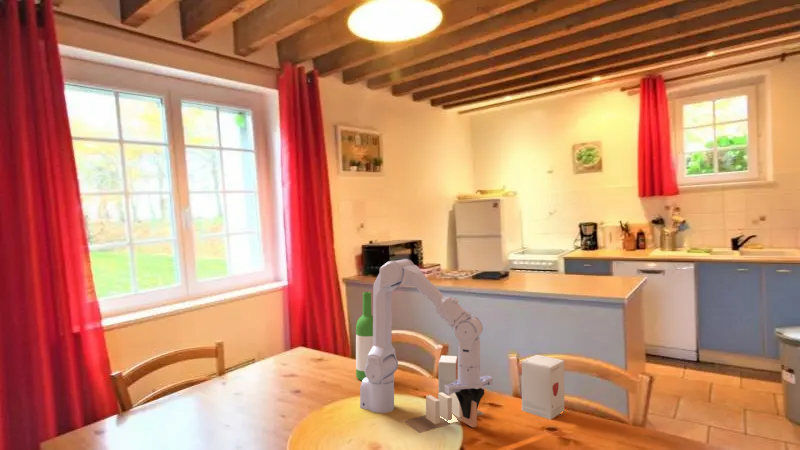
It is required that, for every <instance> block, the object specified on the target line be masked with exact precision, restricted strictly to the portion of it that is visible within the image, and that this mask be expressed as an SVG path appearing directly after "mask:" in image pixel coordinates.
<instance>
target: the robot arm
mask: <svg viewBox="0 0 800 450" xmlns="http://www.w3.org/2000/svg"><path fill="white" fill-rule="evenodd" d="M427 277H428V276H426V275H425V274H424V273H423V272H422V270H421V269H420V267H419V266H417V264H414V262H413V261H412V260H411V259H409V258H401V259H399V260H389V261H387V262H386V263H384V264H383V265H382V266H380V267H379V273H378V275H377V276H376V279H375V281H374V283H373V286H372V289H373V291H372V293H373V295H372V296H373V298H372V303H373V304H372V316H373V347H372V349H371V350H370V352H369V354H368V359H367V363H366V365H365V375H366V377H365V378H364V379H363V381H362V380H361V384H360V387H359V391H360V392H359V399H360V400H359V409H363V410H366V411H367V410H368V411H370V412H372V413H375V414H376V413H377V414H387V413H391V412H392V411H394V410H395V409H394V408H395V372H396V371H397V370H398V368H399V362H398V358H397V357H396V355H397V354H396V349H395V347H394V346H393V345H392V344H393V343H392V336H393V335H392V332H393V330H392V329H393V328H392V327H393V320H392V319H393V291H395V289H396V288H398V287H399V286H400V285H403V286H410V287H414V288H415V289H417V290H418V291H419V293H421V294H422V295H423V296H424V297H426V298H427V299H428V300H429V301H430V302H431V303H432V304H433V305H435V313H436V314H437V315H438V316H439V317H440V318H442V320H443V321H445V323H446V324H448V325H449V326H450V328H452V329H453V330H454V335H455V338H456V339H457V340H458V342H457V343H458V348H457V351H458V352H457V354H458V355H457V357H458V380H456V381H454V382H452V383H450V384H447V385H445V393H446V395H448V396H450V395H452V393H455V394H456V396H457V398H458V400H459V403H460V406H461V409H462V413H463V417H465V418H467V419H469V418H470V413H471V402H472V401H474V402H476V403H477V409H478V407H479V404H480V402H481V400H482V398H483V396H484V395H485V389H484V388H483V387H484V386H487V385H488V386H492V385H493V378H494V377H492V376H490V375H483V376H481V335H482V334H483V330H484V329H483V328H484V327H483V323H482V322H481V320H480V319H479V317H477V316H474V315H472V314H471V313H470V312H469V311H466V310H465V309H464V308H463V307H462V306H461V305H460V304H459V300H458V299H457V298H453V297H451V296H444V294H443V293H442V292H441V291H440V290H439V289H438V288H437V287H436V286H435V285H434V284H433V283H432V282H431V280H429V278H427Z"/></svg>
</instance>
